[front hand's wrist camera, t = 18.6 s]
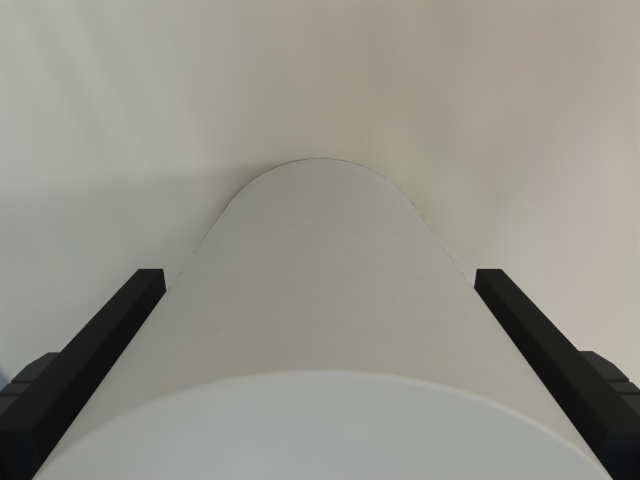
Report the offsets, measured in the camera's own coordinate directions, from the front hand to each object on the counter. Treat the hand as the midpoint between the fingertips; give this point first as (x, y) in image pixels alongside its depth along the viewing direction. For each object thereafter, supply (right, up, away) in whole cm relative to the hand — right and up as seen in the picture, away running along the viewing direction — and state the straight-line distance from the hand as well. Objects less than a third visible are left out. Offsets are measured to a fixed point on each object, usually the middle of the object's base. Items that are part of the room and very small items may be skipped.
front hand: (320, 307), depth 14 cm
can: (0, +1, +3) cm, 3 cm away
